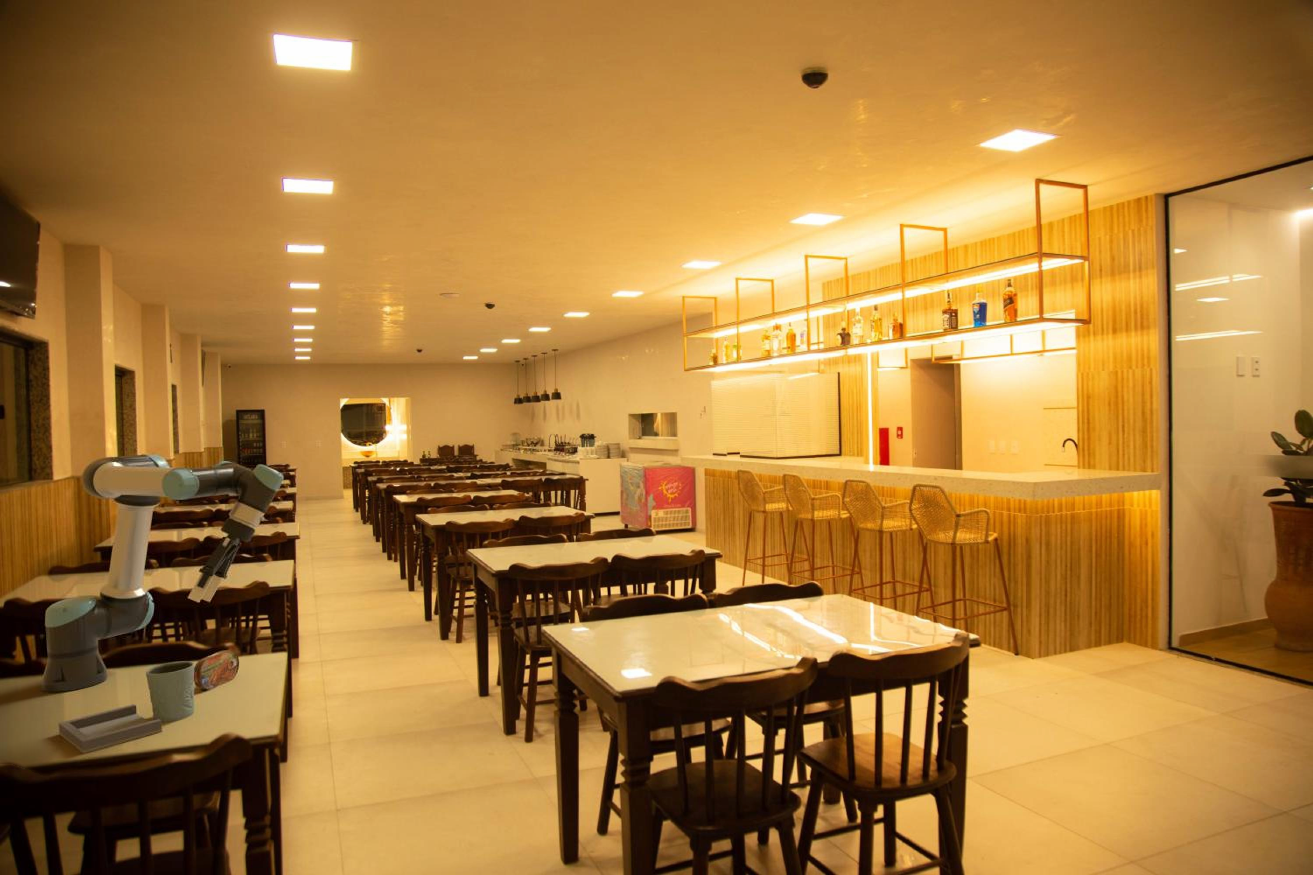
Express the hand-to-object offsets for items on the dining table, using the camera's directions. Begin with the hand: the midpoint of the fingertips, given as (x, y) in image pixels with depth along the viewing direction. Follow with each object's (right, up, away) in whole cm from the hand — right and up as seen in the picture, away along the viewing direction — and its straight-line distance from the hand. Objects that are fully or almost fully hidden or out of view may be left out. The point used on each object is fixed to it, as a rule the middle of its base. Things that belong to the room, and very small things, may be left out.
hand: (198, 600), depth 213 cm
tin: (-5, -27, +18) cm, 32 cm away
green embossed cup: (-3, -27, -7) cm, 28 cm away
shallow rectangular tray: (-11, -27, -17) cm, 34 cm away
